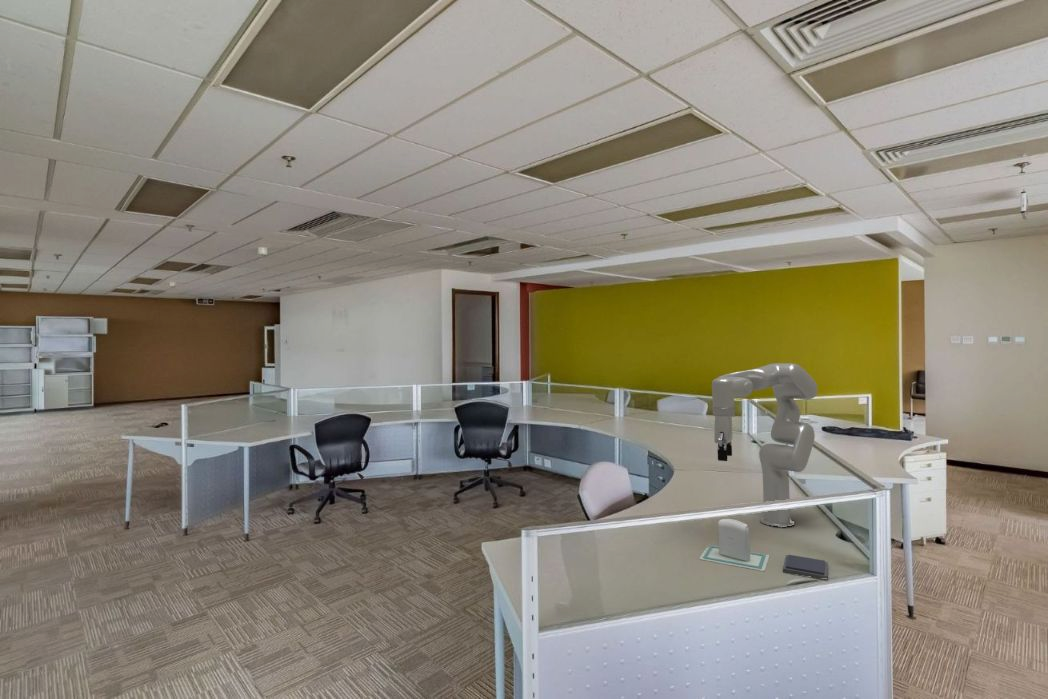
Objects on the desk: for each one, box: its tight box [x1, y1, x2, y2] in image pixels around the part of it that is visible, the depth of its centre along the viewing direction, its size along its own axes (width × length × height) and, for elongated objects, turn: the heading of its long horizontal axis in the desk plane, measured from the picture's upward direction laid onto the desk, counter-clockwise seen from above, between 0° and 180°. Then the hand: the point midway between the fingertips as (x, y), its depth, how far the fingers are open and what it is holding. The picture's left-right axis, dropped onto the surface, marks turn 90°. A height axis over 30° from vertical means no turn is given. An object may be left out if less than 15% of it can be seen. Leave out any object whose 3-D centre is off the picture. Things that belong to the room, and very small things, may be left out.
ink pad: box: [782, 554, 829, 579], centre depth 160 cm, size 12×12×2 cm
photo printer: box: [717, 518, 751, 561], centre depth 171 cm, size 10×4×12 cm, turn 45°
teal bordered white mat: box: [698, 544, 770, 573], centre depth 170 cm, size 14×20×1 cm
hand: (725, 458), depth 187 cm, fingers open, 9 cm apart
